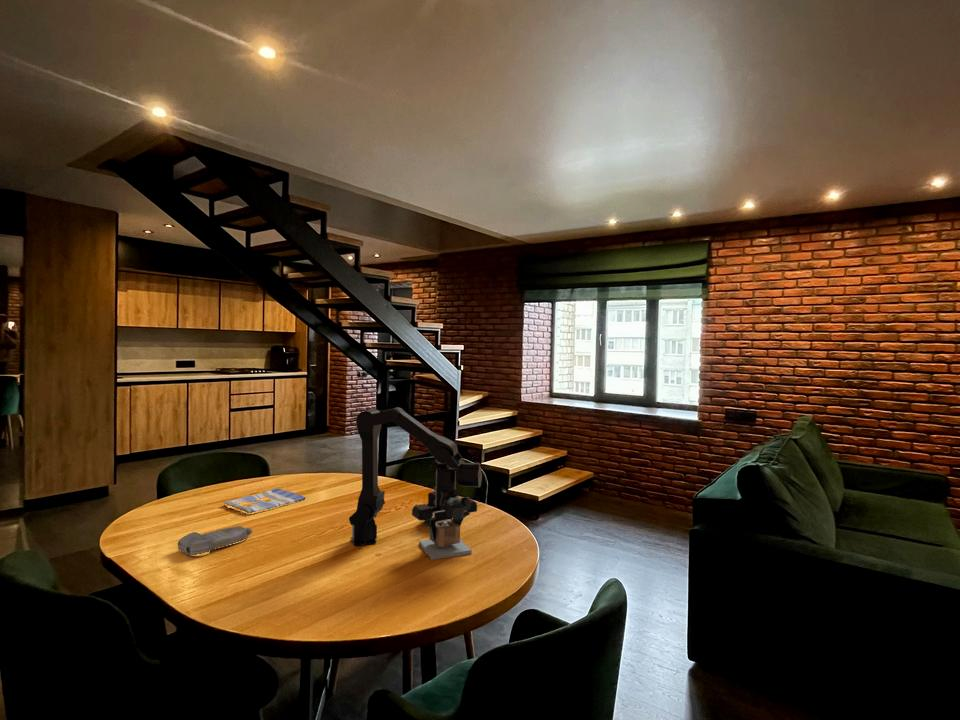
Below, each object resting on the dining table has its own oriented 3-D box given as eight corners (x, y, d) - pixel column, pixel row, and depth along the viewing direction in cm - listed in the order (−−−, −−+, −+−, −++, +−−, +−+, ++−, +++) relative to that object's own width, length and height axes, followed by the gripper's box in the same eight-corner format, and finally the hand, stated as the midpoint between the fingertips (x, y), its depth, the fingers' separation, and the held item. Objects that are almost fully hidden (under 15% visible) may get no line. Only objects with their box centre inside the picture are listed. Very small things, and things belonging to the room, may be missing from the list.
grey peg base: (431, 559, 141) (431, 531, 141) (419, 544, 152) (419, 518, 152) (471, 553, 146) (472, 526, 146) (456, 538, 157) (457, 513, 157)
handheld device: (260, 539, 154) (260, 524, 154) (191, 562, 138) (191, 545, 138) (243, 532, 160) (243, 517, 160) (175, 553, 144) (175, 536, 143)
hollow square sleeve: (429, 539, 150) (430, 522, 150) (449, 535, 153) (449, 519, 153) (439, 547, 144) (439, 529, 144) (459, 542, 148) (460, 525, 148)
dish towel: (221, 508, 184) (221, 500, 184) (279, 493, 203) (279, 486, 203) (247, 517, 174) (247, 509, 174) (306, 501, 193) (306, 494, 193)
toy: (448, 533, 161) (448, 502, 161) (420, 522, 171) (421, 492, 171) (465, 528, 166) (466, 497, 166) (438, 517, 176) (438, 488, 176)
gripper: (427, 496, 137) (426, 553, 137) (487, 487, 146) (486, 541, 147) (411, 485, 146) (410, 539, 147) (468, 478, 156) (467, 529, 156)
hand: (444, 537), depth 149 cm, fingers closed on hollow square sleeve, 6 cm apart
